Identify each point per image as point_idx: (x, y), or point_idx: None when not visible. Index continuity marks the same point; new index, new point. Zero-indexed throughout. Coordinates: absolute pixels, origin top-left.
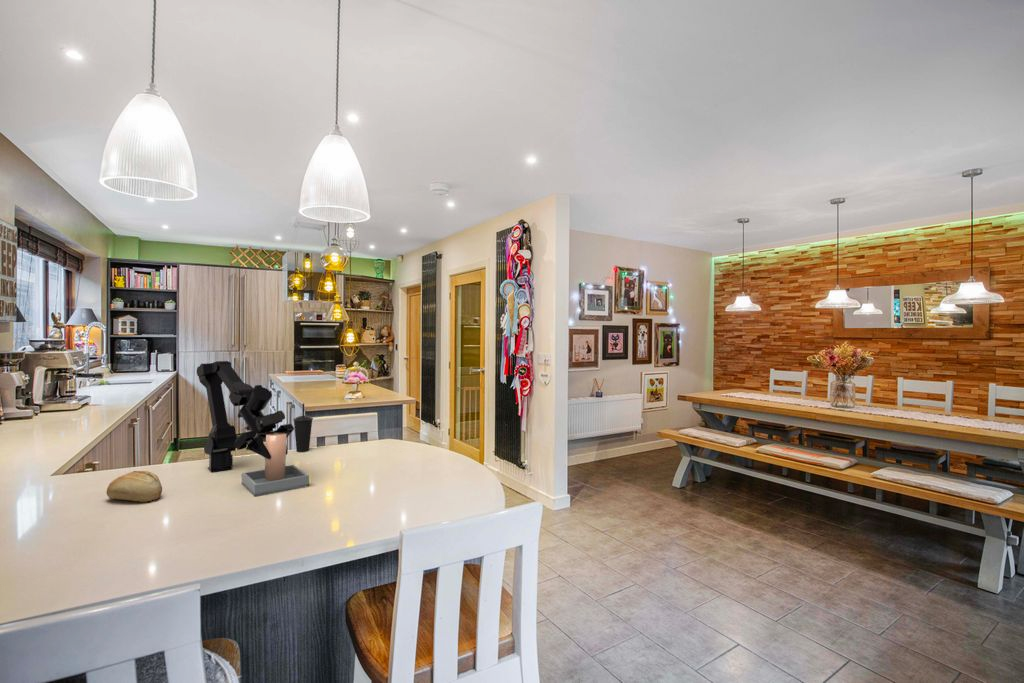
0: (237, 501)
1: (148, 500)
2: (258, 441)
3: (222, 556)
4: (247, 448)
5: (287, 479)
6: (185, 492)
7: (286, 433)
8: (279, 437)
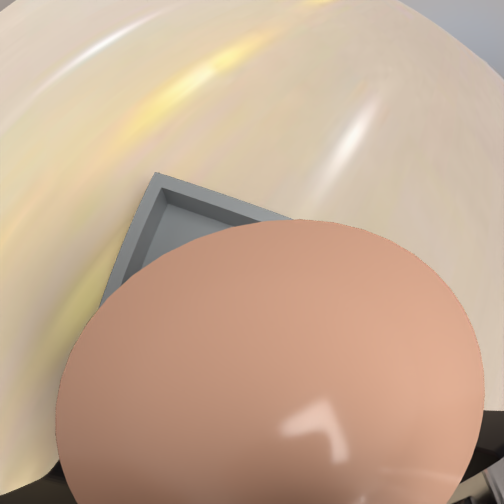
0: None
1: None
2: (497, 412)
3: (475, 73)
4: None
5: (260, 207)
6: None
7: (10, 497)
8: (357, 243)
